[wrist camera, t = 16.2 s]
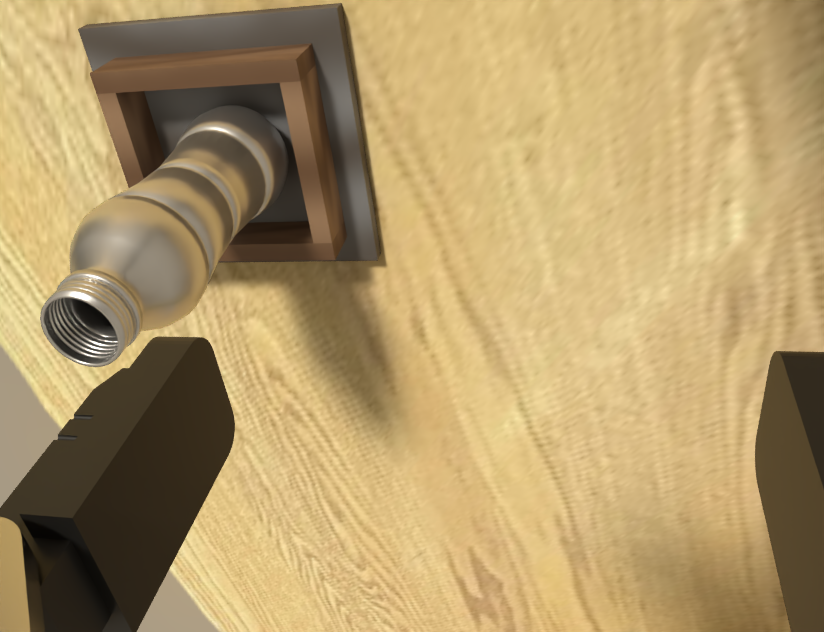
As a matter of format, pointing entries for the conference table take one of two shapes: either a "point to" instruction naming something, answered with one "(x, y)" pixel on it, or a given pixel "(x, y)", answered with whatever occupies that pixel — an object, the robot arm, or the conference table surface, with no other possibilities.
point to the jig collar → (260, 91)
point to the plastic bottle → (164, 236)
